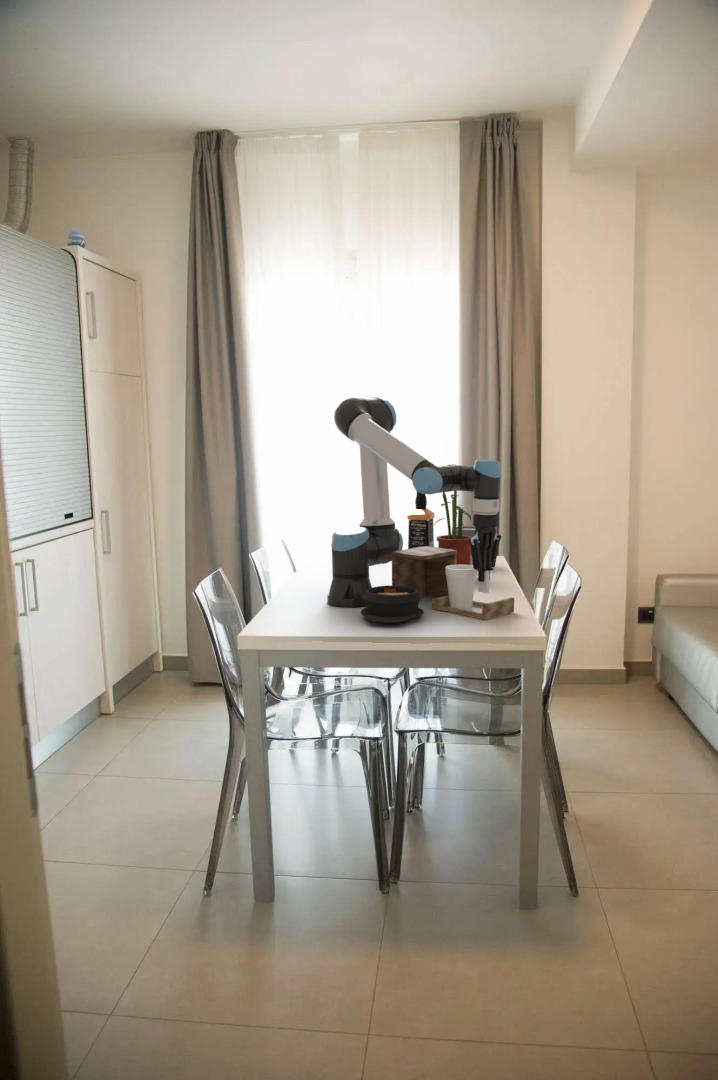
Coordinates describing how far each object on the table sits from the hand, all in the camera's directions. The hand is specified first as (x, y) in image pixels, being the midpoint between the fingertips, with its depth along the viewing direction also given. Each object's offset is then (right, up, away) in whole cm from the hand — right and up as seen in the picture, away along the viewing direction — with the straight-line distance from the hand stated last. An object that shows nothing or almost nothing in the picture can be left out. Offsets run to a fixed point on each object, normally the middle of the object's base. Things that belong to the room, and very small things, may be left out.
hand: (483, 591), depth 241 cm
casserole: (-27, -8, -4) cm, 28 cm away
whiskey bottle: (-11, +6, +93) cm, 94 cm away
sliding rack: (-3, -6, +4) cm, 7 cm away
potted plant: (-3, +2, +60) cm, 60 cm away
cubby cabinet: (-16, -4, +18) cm, 25 cm away
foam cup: (-6, -6, +7) cm, 11 cm away
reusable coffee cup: (+6, +5, +82) cm, 83 cm away
